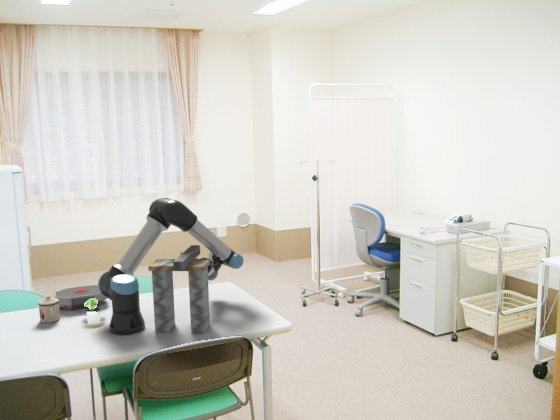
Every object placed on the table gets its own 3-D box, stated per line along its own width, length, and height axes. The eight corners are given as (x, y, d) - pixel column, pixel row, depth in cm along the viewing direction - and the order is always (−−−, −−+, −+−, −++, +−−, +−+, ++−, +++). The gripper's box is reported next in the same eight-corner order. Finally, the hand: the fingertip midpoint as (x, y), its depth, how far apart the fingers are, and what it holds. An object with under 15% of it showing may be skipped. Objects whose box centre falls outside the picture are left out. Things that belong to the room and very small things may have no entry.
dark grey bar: (173, 271, 222) (173, 261, 221) (191, 253, 251) (191, 245, 250) (183, 271, 221) (182, 261, 221) (200, 253, 251) (199, 245, 250)
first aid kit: (106, 297, 286) (55, 303, 276) (105, 283, 285) (54, 289, 275) (109, 306, 270) (56, 314, 260) (108, 292, 269) (54, 299, 259)
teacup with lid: (38, 318, 255) (36, 295, 253) (59, 315, 259) (57, 291, 258) (41, 326, 245) (39, 302, 243) (63, 322, 249) (61, 298, 247)
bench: (152, 333, 234) (148, 265, 230) (160, 323, 246) (157, 258, 241) (206, 334, 232) (203, 266, 227) (212, 324, 244) (209, 258, 239)
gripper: (181, 259, 272) (169, 246, 252) (230, 259, 269) (222, 247, 250) (179, 273, 269) (168, 262, 249) (229, 274, 267) (221, 262, 247)
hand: (195, 254), depth 249 cm, fingers open, 13 cm apart
